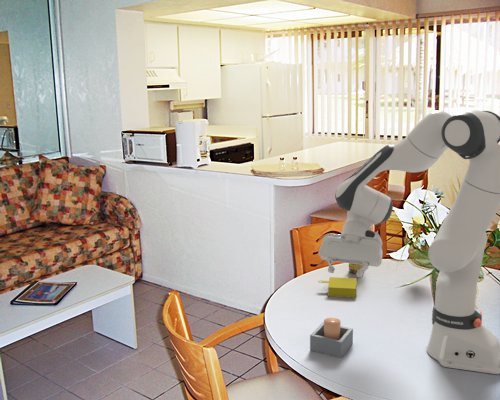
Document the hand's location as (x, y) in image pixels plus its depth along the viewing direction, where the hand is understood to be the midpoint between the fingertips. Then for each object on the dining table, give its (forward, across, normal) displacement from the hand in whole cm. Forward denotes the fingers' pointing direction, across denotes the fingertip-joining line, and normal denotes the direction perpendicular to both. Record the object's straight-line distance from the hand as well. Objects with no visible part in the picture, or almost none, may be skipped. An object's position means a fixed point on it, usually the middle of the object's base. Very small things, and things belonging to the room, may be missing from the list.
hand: (344, 274), depth 173 cm
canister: (+20, -1, +7) cm, 22 cm away
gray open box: (+21, -1, +8) cm, 23 cm away
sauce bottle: (-25, -16, +54) cm, 61 cm away
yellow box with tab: (-8, -15, +38) cm, 41 cm away
